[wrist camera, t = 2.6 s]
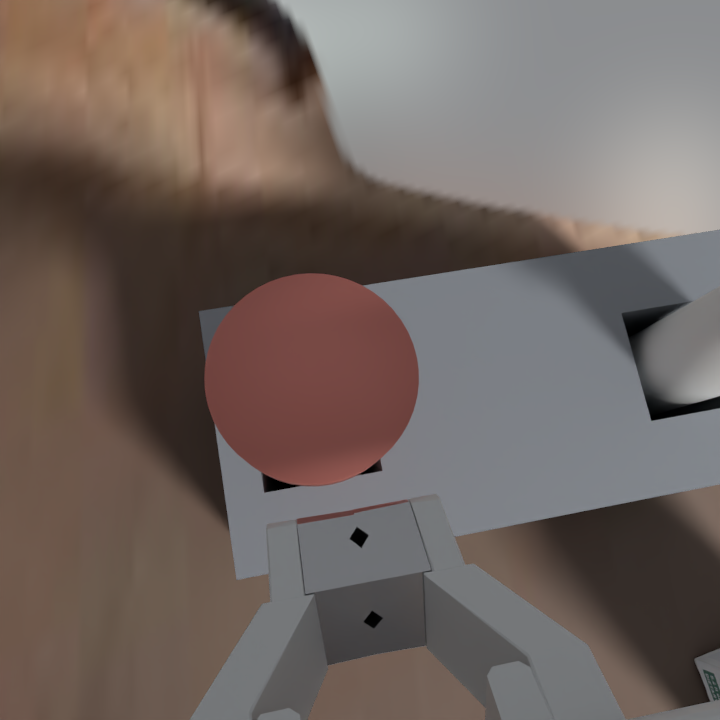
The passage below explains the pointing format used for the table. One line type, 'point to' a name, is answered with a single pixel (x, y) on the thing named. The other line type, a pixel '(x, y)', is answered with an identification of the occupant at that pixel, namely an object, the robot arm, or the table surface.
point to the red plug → (311, 379)
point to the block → (517, 397)
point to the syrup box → (710, 673)
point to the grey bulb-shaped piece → (680, 356)
